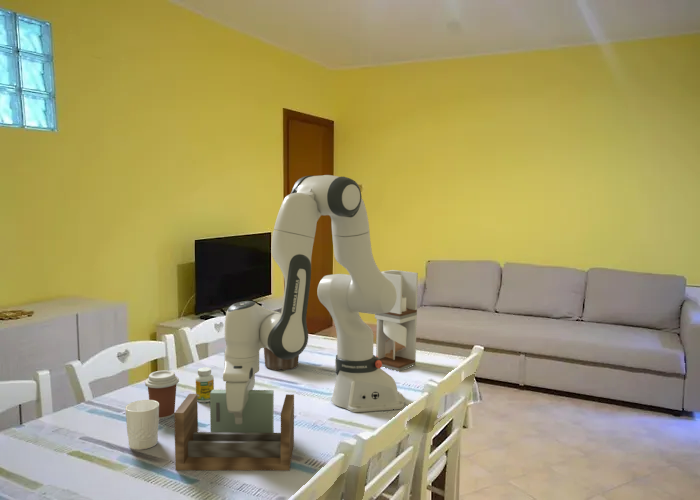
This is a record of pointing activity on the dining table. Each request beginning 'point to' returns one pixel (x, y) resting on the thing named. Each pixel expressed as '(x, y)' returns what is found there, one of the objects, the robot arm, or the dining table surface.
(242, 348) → the robot arm
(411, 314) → the display case
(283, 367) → the plant pot
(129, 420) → the white cup
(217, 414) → the door panel
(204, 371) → the supplement bottle
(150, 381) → the coffee cup
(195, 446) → the wooden book rack
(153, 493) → the dining table surface
